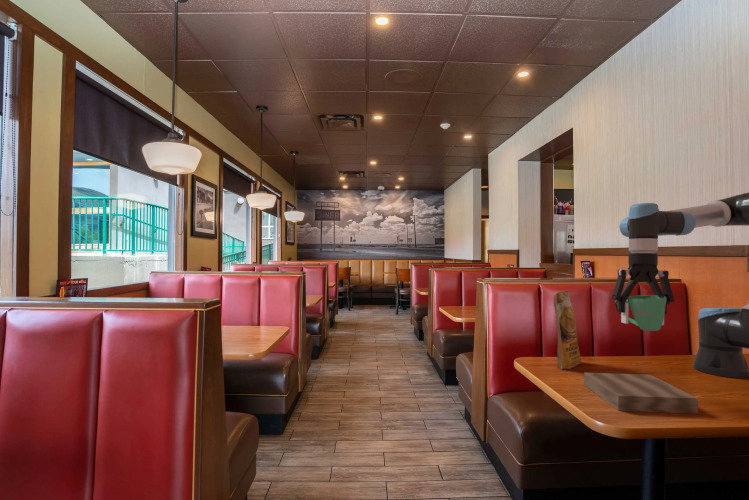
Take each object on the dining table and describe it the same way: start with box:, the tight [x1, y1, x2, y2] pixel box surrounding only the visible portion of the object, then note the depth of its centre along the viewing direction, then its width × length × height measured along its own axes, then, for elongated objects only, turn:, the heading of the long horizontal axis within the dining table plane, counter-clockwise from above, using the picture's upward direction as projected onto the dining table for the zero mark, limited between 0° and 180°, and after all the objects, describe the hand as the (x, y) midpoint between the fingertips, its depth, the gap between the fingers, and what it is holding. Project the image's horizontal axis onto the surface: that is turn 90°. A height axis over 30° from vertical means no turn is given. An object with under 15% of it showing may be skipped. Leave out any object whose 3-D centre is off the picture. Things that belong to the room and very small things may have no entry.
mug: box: [614, 294, 666, 332], centre depth 117 cm, size 15×10×10 cm
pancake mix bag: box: [553, 291, 582, 370], centre depth 143 cm, size 7×19×28 cm, turn 132°
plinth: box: [583, 372, 699, 415], centre depth 110 cm, size 20×20×4 cm
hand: (642, 323), depth 117 cm, fingers closed on mug, 10 cm apart
